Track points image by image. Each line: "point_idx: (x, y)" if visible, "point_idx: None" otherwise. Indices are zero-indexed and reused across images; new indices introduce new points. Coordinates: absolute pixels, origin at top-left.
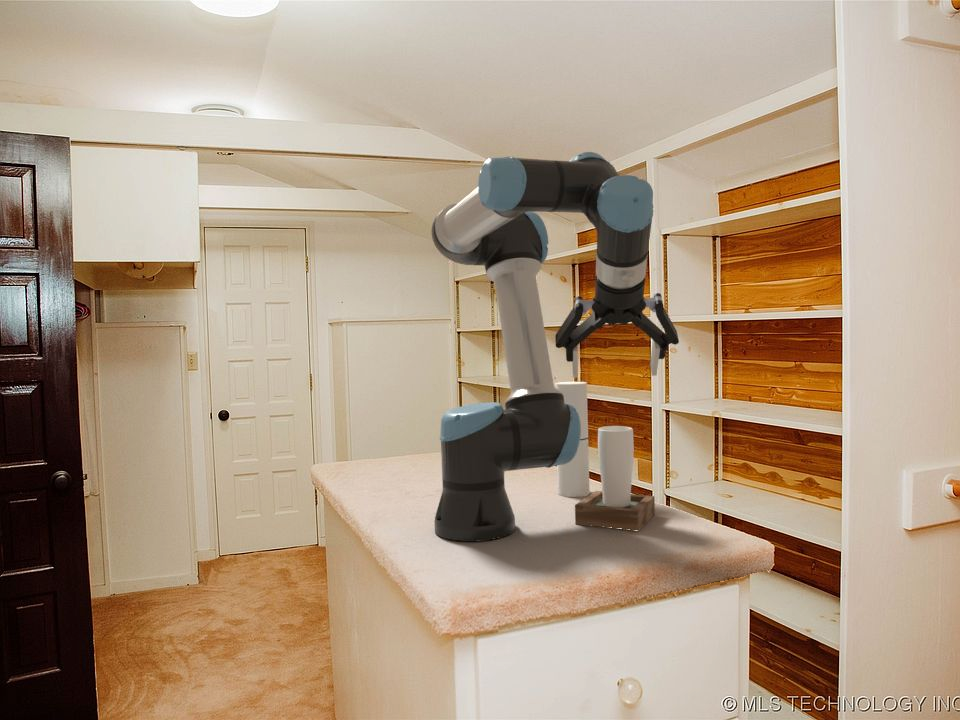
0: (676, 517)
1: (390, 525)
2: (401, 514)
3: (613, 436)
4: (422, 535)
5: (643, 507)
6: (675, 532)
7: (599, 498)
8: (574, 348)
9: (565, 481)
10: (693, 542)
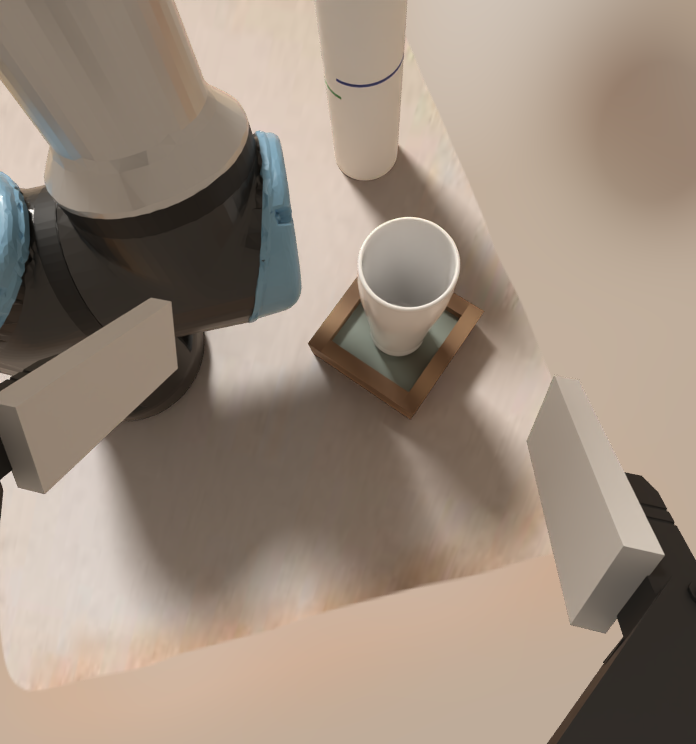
0: (511, 347)
1: None
2: None
3: (387, 313)
4: None
5: (437, 379)
6: (476, 436)
7: None
8: (18, 472)
9: (342, 153)
10: (488, 499)
